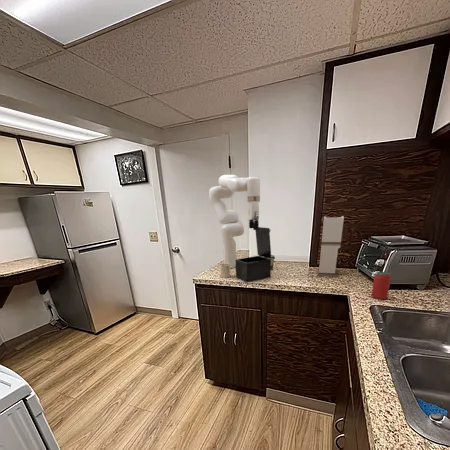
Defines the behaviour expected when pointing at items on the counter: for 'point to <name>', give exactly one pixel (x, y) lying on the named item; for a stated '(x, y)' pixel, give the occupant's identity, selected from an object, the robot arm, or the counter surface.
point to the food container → (271, 261)
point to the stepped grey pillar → (330, 245)
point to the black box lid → (263, 242)
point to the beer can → (381, 285)
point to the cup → (225, 270)
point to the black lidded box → (253, 268)
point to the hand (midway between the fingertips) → (253, 228)
